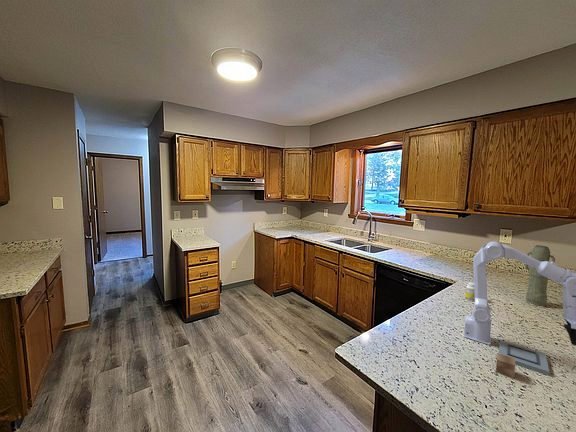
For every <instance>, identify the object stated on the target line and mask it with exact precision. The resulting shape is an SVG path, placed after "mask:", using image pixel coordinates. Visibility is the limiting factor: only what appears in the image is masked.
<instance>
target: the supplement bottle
mask: <svg viewBox="0 0 576 432" xmlns="http://www.w3.org/2000/svg"><path fill="white" fill-rule="evenodd" d="M465 299H466V300H467V299H468V300H467V301H470V300H471V302H475V290H474V282H472V281H471V282H469V281H468V282H467V285H466V288H465Z"/></svg>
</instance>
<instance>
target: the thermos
mask: <svg viewBox="0 0 576 432" xmlns="http://www.w3.org/2000/svg"><path fill="white" fill-rule="evenodd" d="M526 255H528V256H531V257H532V258H534V259H536V260H538V261H540V262H543V261H548V262H550V259H551V262H554V263H556V262H555V261H556V257H555V256H554V255H551V250H550V248H549V246H548V245H547V246H546V245H540V244H539V245H534V246H533V248H532V250H531V251H529V252H528V253H526ZM525 269H526V270H528V275H529V276H528V277H529V278H528V287H527V292H526V295H525V302H526V301H527V302H529V303H531V304H534V305H538V306H546V307H547V302H548V294H547V290H548V281H549V278H547V277H545V276H543V275H541V274H539V273H538V272H537V270H536V268H534V267H532V266H529V265H527V264H525ZM534 305H533V306H534ZM538 306H537V307H538Z"/></svg>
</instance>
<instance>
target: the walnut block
mask: <svg viewBox="0 0 576 432" xmlns="http://www.w3.org/2000/svg"><path fill="white" fill-rule="evenodd" d="M495 365H496V366H495V373H497V374H500V375H502V376H506V377H508V378H511V379H513V380H515V371H516V364H515V359H514V358H511V357H508V356H505V355H502V354H499V352H497V355H496V364H495Z"/></svg>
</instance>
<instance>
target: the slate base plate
mask: <svg viewBox="0 0 576 432" xmlns="http://www.w3.org/2000/svg"><path fill="white" fill-rule="evenodd" d="M498 353H499V354H502V355H505V356H508V357H511V358H514V359H515V366H519V367H522V368H524V369H527V370H531V371H534V372H537V373H540V374H542V375H546V376H548V377H549V376H550V368H549V364H548V363H549V362H548V360H547V354H546V353H544V352H541V351H538V350H534V349H532V348H527V347H525V346H521V345H517V344H515V343H514V344H513V343H511V342H507V341H505V340H501V339H500V340H499V348H498Z"/></svg>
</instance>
